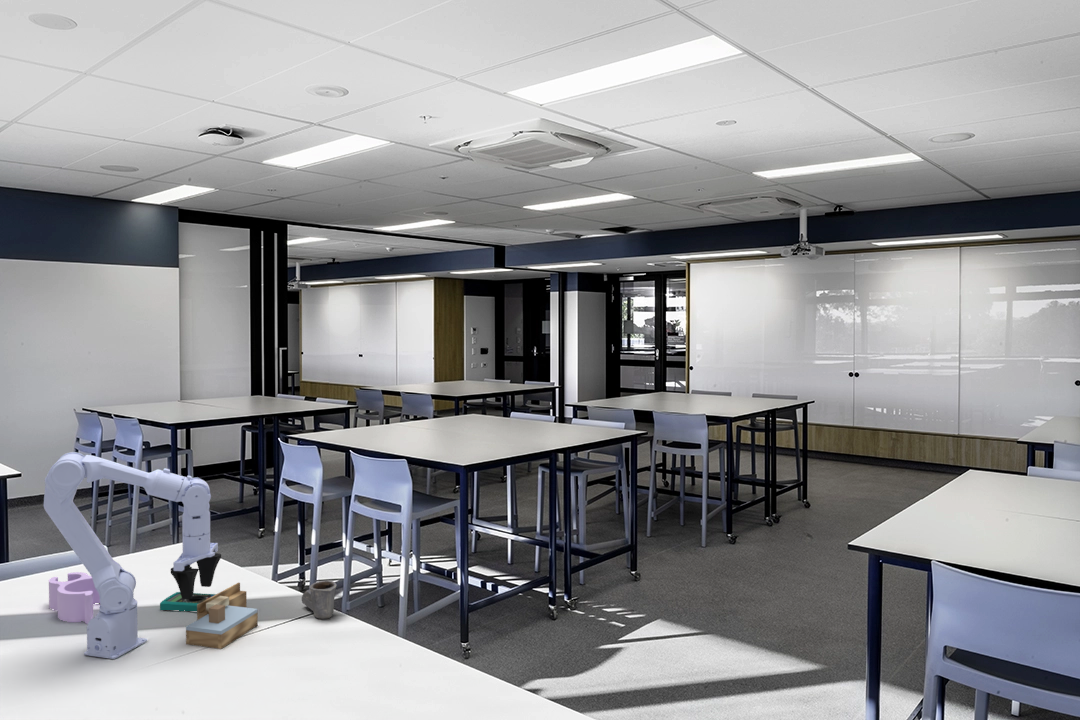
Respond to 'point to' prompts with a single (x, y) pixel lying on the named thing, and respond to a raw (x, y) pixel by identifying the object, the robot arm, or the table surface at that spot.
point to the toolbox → (229, 636)
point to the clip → (73, 597)
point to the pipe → (320, 598)
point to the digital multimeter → (183, 602)
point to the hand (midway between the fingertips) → (196, 592)
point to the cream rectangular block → (218, 602)
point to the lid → (221, 619)
